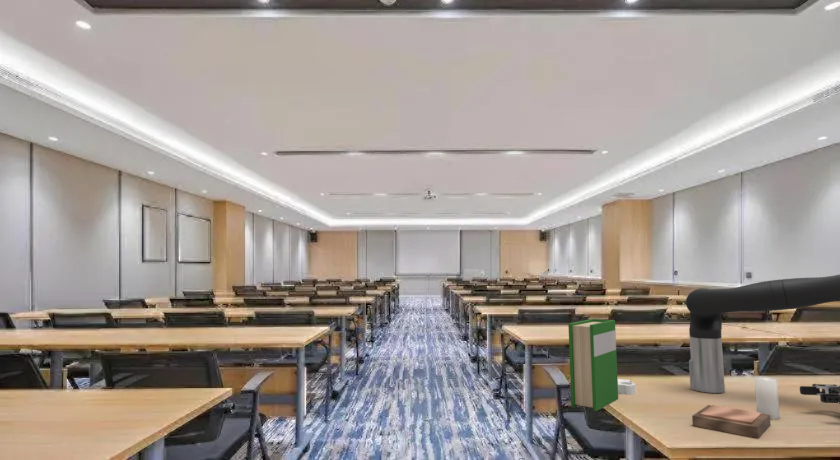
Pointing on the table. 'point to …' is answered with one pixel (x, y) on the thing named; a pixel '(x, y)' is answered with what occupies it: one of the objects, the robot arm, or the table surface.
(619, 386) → the white brass knuckles
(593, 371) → the hardback book
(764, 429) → the walnut base
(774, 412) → the ceramic cylinder
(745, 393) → the table surface
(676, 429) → the table surface
